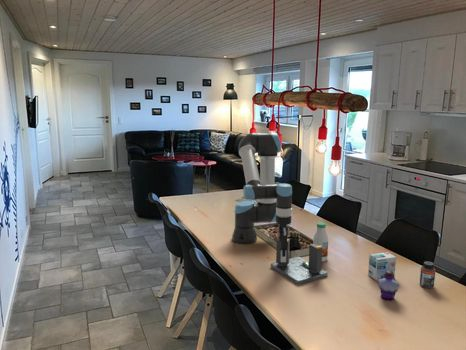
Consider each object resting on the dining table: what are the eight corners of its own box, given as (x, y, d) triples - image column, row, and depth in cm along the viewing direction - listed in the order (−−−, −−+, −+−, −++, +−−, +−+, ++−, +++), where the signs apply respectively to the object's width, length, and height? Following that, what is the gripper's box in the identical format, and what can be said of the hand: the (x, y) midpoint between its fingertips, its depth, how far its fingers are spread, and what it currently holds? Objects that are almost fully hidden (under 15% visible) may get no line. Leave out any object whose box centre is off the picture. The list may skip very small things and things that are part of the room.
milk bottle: (316, 262, 202) (318, 226, 198) (310, 257, 210) (311, 221, 206) (330, 261, 204) (331, 225, 200) (322, 255, 212) (324, 220, 208)
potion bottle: (380, 290, 173) (382, 265, 171) (400, 296, 168) (403, 270, 166) (373, 298, 167) (375, 272, 165) (394, 304, 162) (396, 278, 159)
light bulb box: (375, 280, 182) (377, 259, 180) (367, 274, 189) (368, 254, 187) (395, 278, 185) (397, 256, 183) (386, 272, 192) (387, 251, 189)
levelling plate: (270, 267, 197) (270, 260, 197) (298, 259, 206) (298, 253, 205) (298, 285, 179) (298, 277, 178) (327, 276, 187) (327, 268, 187)
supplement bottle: (421, 281, 181) (423, 259, 179) (435, 285, 178) (437, 262, 175) (417, 286, 177) (420, 263, 175) (432, 290, 173) (434, 266, 171)
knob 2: (306, 270, 190) (307, 243, 187) (314, 267, 192) (315, 242, 189) (315, 274, 184) (316, 247, 182) (322, 272, 187) (324, 246, 184)
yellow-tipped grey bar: (275, 265, 195) (275, 239, 192) (278, 261, 199) (279, 236, 196) (286, 267, 192) (287, 241, 190) (289, 263, 197) (290, 238, 194)
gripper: (293, 221, 182) (292, 267, 186) (288, 210, 199) (287, 252, 204) (277, 221, 182) (277, 267, 186) (274, 210, 199) (273, 252, 204)
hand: (282, 259), depth 195 cm, fingers open, 5 cm apart
